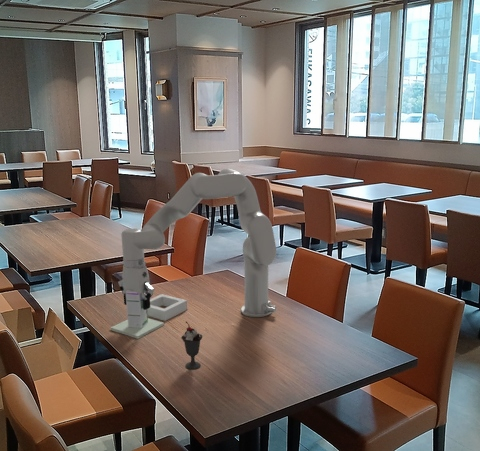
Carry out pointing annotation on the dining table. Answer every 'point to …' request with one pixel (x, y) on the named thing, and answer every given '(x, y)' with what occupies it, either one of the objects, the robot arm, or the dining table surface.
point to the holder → (173, 307)
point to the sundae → (192, 346)
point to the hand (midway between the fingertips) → (137, 306)
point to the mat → (137, 332)
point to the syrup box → (135, 310)
